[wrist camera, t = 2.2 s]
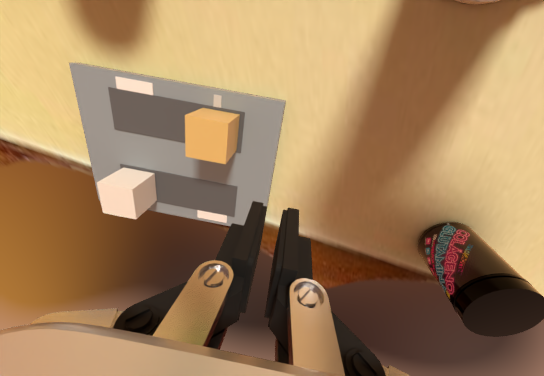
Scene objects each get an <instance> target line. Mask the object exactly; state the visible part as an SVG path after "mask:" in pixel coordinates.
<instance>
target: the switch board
mask: <svg viewBox="0 0 544 376" xmlns="http://www.w3.org/2000/svg"><path fill="white" fill-rule="evenodd" d="M69 65H70V69H71V74H72V79H73V83H74V88H75V92H76V97H77V102H78V106H79V111H80V115H81V120H82V124H83V129H84V134H85V138H86V143H87V147H88V152H89V157H90V161H91V166H92V170H93V175H94V180H95V184H96V189H97V193H98V198H99V200H100V196H99V191H98V187H97V182H98V181H100V180H102V179H104V178H106V177H107V176H109V175H111V174H113V173H114V172H116V171H118V170H120V169H122V168H123V167H124V168H130V169H135V170H140V171H145V172H150V173H155V184H156V196H157V201H156V202H155V203H154V204H153V205H151V206H150V207H149V208H148V209H147V210H150V211H155V212H161V213H166V214H171V215H176V216H181V217H186V218H191V219H197V220H201V221H206V222H211V223H216V224H221V225H226V226H231V224H232V223H234V224H239V225H244V224H245V221H246V218H247V216H248V213H249V210H250V207H251V205H252V202H253V201H256V202H261V203H264V204H263V206H267V205H268V199H269V194H270V188H271V182H272V177H273V171H274V165H275V159H276V154H277V148H278V142H279V137H280V131H281V125H282V120H283V114H284V108H285V102H286V101H284V100H279V99H273V98H268V97H262V96H257V95H251V94H246V93H240V92H235V91H229V90H224V89H219V88H213V87H208V86H202V85H197V84H191V83H186V82H180V81H175V80H169V79H164V78H158V77H153V76H147V75H142V74H137V73H131V72H126V71H120V70H115V69H109V68H104V67H98V66H93V65H87V64H82V63H69ZM201 108H207V109H213V110H218V111H223V112H229V113H234V114H240V118H239V129H238V139H237V150H236V152H235V153H234V154H233V155H232V157H231V158H230V159H229V161H228V162H227V163H226V164H221V163H216V162H211V161H205V160H200V159H195V158H190V157H186V154H185V115H186V114H189V113H191V112H194V111H196V110H199V109H201Z"/></svg>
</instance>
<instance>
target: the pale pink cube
mask: <svg viewBox="0 0 544 376" xmlns="http://www.w3.org/2000/svg"><path fill="white" fill-rule="evenodd" d="M97 187H98V191H99V196H100V201H101V205H102V209H103V213H107V214H111V215H116V216H121V217H126V218H132V219H137V218H138V217H140V216H141V215H142V214H143V213H144V212H145V211H146V210H147V209H148V208H149V207H150V206H151V205H153V204H154V203H155V202H156V201H157V196H156V184H155V173H150V172H145V171H140V170H135V169H130V168H124V167H123V168H122V169H120V170H118V171H116V172H114V173H113V174H111V175H109V176H107V177H106V178H104V179H102V180H100V181H98V182H97Z"/></svg>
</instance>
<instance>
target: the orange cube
mask: <svg viewBox="0 0 544 376" xmlns="http://www.w3.org/2000/svg"><path fill="white" fill-rule="evenodd" d="M239 118H240V114H234V113H229V112H223V111H218V110H213V109H207V108H201V109H199V110H196V111H194V112H191V113H189V114H186V115H185V154H186V157H190V158H195V159H200V160H205V161H211V162H216V163H221V164H226V163H227V162H228V161H229V159H230V158H231V157H232V155H233V154H234V153H235V152H236V150H237V139H238V129H239Z"/></svg>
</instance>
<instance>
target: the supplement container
mask: <svg viewBox="0 0 544 376" xmlns="http://www.w3.org/2000/svg"><path fill="white" fill-rule="evenodd" d="M418 250H419V253H420V255H421V257H422V258H423V260H424V261H425V263H426V264H427V266H428V268H429V269H430V271H431V272H432V274H433V275H434V277H435V279H436V280H437V282H438V283H439V285H440V286H441V288H442V289H443V291H444V293H445V294H446V296H447V297H448V299H449V301H450V302H451V304H452V305H453V308H454V310H455V311H456V313H457V314H458V315H459V317H460V318H461V320H462V322H463V323H464V325H465V326H466V327H467V328H468V329H469V330H470V331H472V332H474V333H476V334H479V335H484V336H493V337H499V336H508V335H513V334H517V333H520V332H523V331H525V330H528V329H530V328H532V327H534V326H535V325H537V324H538V323H539V322H541V321H542V320H543V319H544V297H543V296H542V295H541V294H540V293H539V292H538V291H537V290H536V289H535V288H534V287H533V286H532V285H531V284H530V283H529V282H528V281H527V280H525V279H524V278H523V277H522V276H521V275H519V274H518V273H517V272H516V271H515V270H514V269H513V268H512V267H511V266H510V265H509V264H508V263H507V262H506V261H505V260H504V259H503V258H502V257H500V256H499V255H498V254H497V253H496V252H495V251H494V250H493V249H492V248H491V247H490V246H489V245H488V244H487V243H486V242H485V241H484V240H483V239H482V238H480V237H479V236H478V235H477V234H476V233H475V232H474V231H473V230H472V229H471V228H470V227H468V226H466V225H464V224H461V223H456V222H446V223H440V224H437V225H435V226H433V227H431V228H429V229H428V230H426V231H425V232H424V233H423V235H422V236H421V238H420V240H419V243H418Z"/></svg>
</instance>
